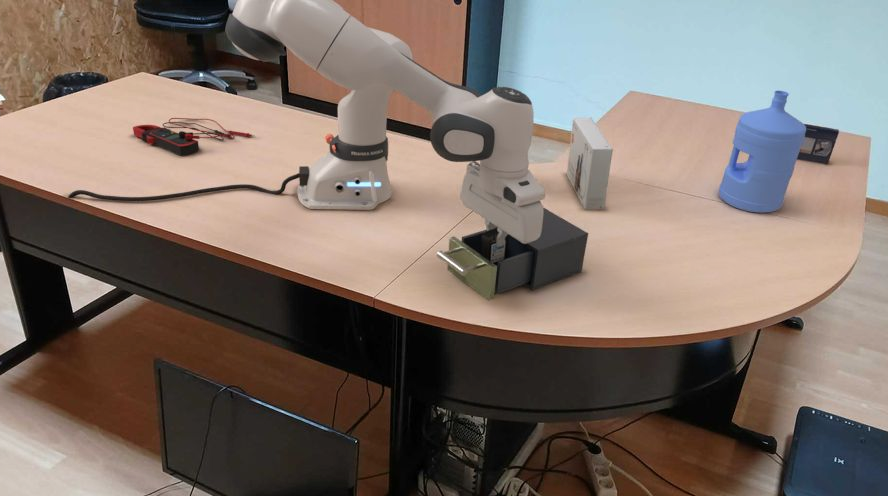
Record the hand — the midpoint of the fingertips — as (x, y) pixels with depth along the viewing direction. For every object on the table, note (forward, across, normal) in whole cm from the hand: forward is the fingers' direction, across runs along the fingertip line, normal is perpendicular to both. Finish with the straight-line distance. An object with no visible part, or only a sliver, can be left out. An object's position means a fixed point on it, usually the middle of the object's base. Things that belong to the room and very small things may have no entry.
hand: (495, 243), depth 142 cm
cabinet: (+8, 0, +11) cm, 14 cm away
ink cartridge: (+6, 0, 0) cm, 6 cm away
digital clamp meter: (+9, -100, -24) cm, 103 cm away
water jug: (+8, +4, +82) cm, 82 cm away
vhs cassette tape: (+8, -7, +121) cm, 121 cm away
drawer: (+8, 0, -3) cm, 8 cm away
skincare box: (+8, -21, +47) cm, 52 cm away
